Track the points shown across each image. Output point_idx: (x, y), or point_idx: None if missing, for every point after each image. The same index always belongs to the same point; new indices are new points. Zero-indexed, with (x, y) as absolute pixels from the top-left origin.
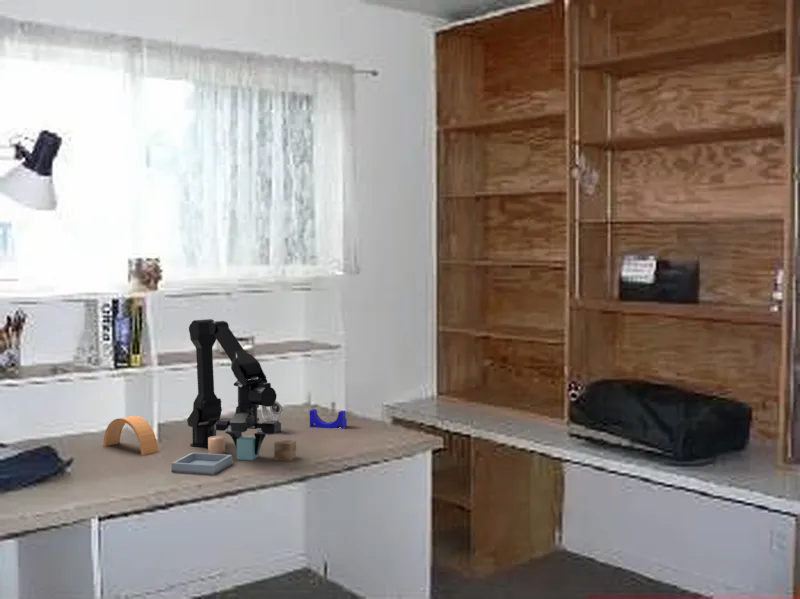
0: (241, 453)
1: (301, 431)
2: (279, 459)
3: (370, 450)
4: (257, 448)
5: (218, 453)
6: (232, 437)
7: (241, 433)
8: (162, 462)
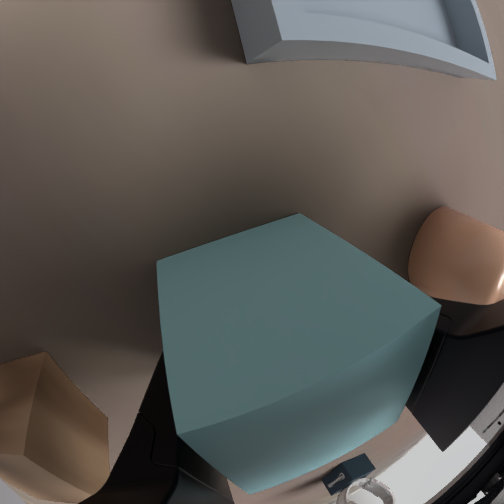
0: (281, 245)
1: (280, 499)
2: (21, 360)
3: (14, 487)
4: (154, 376)
5: (432, 228)
6: (476, 308)
7: (421, 421)
8: (491, 47)
